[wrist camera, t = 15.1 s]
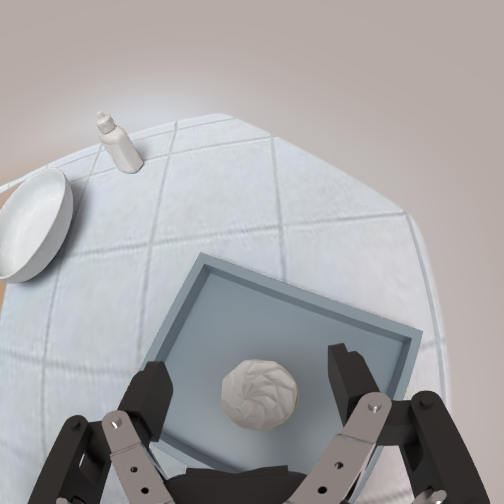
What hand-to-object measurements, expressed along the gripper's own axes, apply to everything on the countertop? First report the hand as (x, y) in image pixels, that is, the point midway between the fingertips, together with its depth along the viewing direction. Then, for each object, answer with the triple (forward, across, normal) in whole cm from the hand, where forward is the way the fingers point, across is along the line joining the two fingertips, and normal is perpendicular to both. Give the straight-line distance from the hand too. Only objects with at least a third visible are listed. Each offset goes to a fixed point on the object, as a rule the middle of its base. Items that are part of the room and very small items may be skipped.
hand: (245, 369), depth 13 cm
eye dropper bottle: (+35, +19, -12) cm, 42 cm away
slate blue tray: (+10, 0, +12) cm, 15 cm away
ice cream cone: (+9, 0, +11) cm, 15 cm away
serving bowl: (+28, +35, -4) cm, 45 cm away
